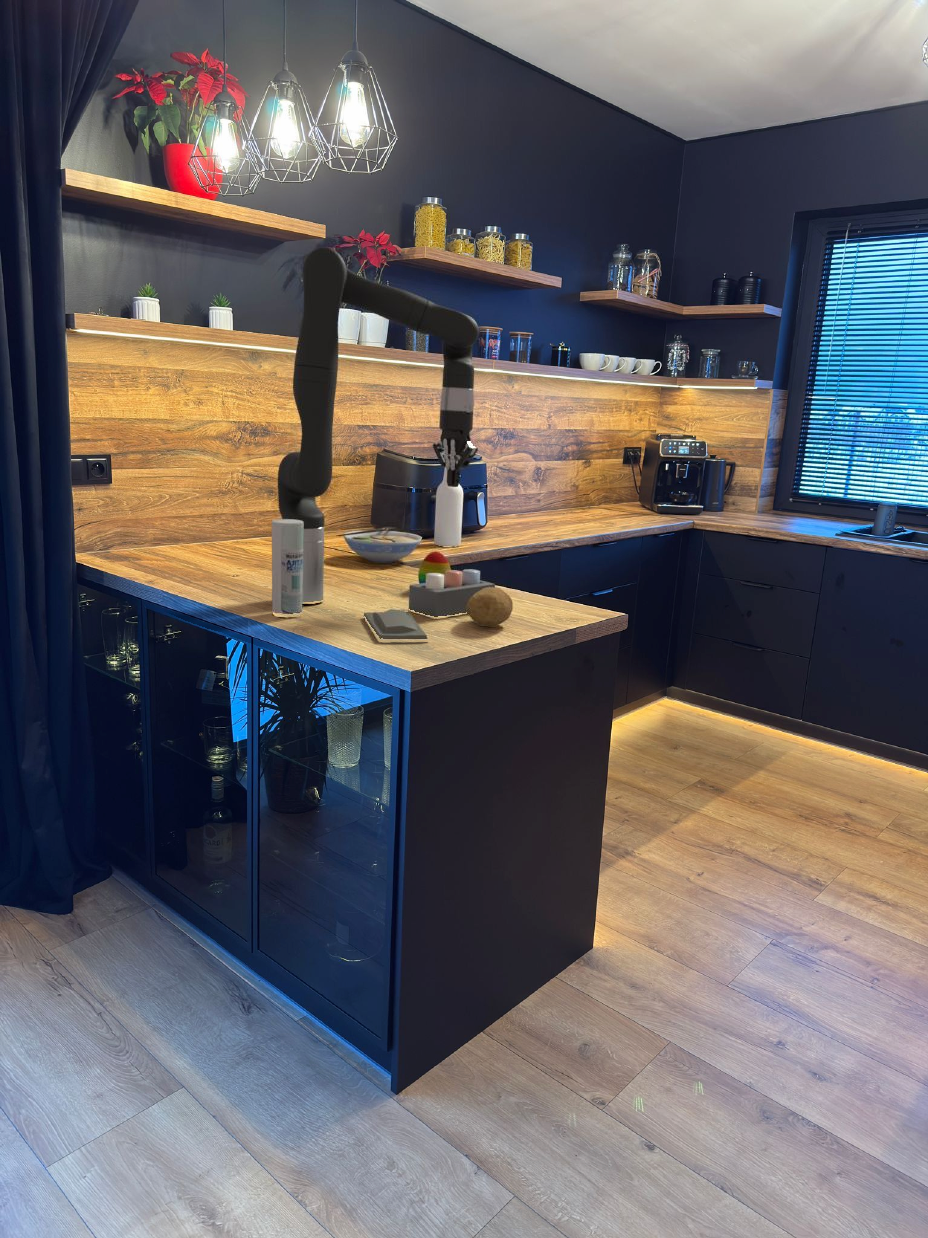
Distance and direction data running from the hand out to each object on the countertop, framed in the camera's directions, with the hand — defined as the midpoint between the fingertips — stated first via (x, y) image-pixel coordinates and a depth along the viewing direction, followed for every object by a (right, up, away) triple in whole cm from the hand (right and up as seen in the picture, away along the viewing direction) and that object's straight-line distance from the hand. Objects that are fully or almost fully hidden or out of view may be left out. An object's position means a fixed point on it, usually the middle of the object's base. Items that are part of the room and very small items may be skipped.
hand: (452, 486), depth 202 cm
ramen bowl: (-21, -14, +54) cm, 60 cm away
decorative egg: (-5, -24, +17) cm, 29 cm away
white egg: (-4, -26, -7) cm, 28 cm away
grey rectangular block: (0, -28, -3) cm, 29 cm away
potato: (+8, -32, -14) cm, 36 cm away
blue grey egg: (+4, -25, +1) cm, 26 cm away
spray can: (-35, -30, -15) cm, 48 cm away
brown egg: (0, -26, -3) cm, 26 cm away
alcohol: (-3, -6, +89) cm, 89 cm away
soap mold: (-12, -33, -22) cm, 42 cm away
